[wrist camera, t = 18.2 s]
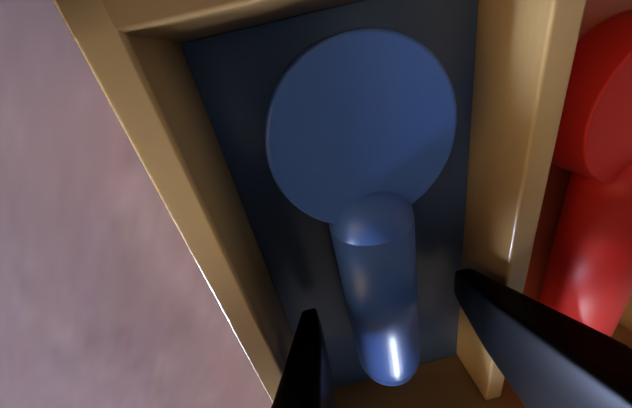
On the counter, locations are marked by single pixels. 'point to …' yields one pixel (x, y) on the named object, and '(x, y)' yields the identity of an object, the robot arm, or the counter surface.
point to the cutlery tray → (314, 235)
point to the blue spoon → (366, 172)
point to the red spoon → (595, 182)
